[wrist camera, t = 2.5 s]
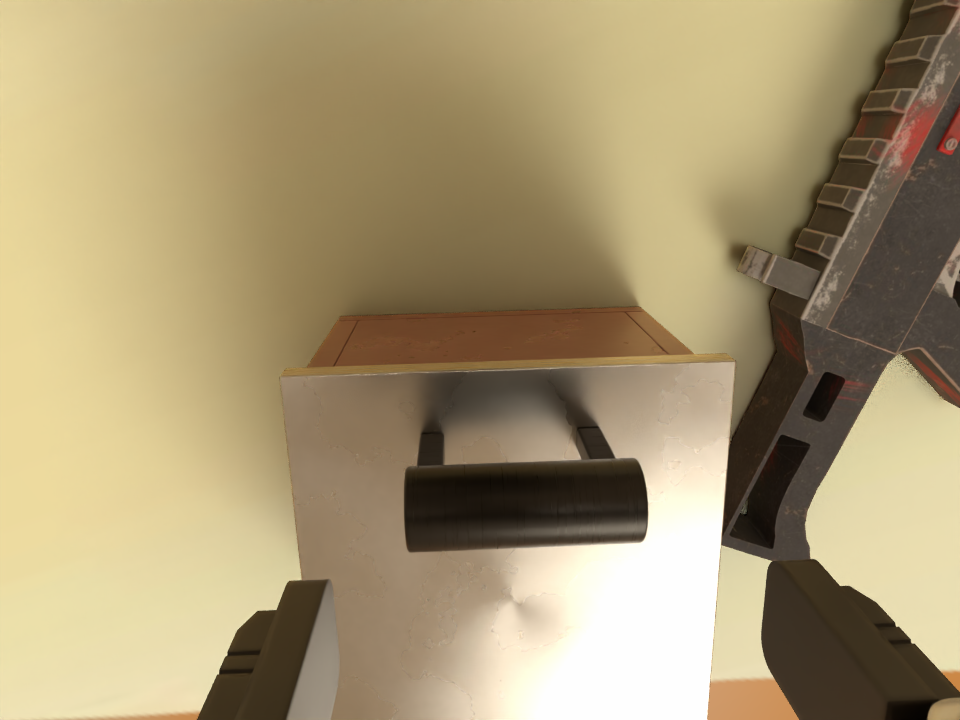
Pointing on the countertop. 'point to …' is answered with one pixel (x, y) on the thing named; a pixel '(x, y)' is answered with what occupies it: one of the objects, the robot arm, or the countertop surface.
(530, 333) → the open wooden cubby
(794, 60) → the countertop surface
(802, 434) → the toy gun
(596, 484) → the lid
